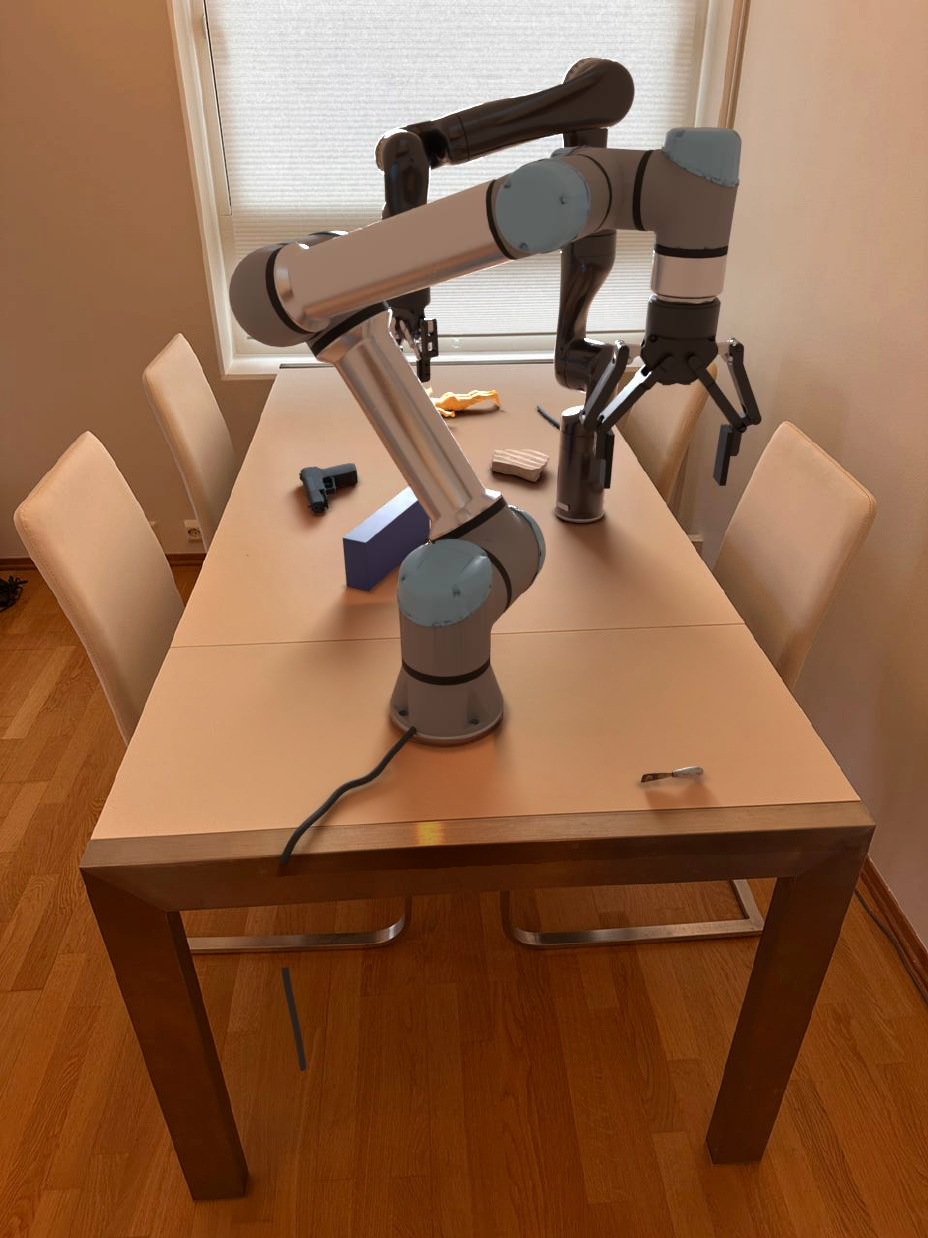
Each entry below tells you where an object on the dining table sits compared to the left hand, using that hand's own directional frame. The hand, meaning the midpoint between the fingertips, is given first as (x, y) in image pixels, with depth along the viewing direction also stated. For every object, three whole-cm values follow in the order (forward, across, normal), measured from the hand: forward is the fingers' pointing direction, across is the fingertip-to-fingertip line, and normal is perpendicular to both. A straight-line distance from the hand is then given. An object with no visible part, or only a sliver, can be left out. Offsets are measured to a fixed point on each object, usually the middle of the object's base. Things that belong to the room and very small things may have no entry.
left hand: (662, 483), depth 105 cm
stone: (+33, +7, -83) cm, 89 cm away
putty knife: (+33, -1, +16) cm, 36 cm away
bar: (+33, +34, -44) cm, 65 cm away
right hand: (+2, +30, -52) cm, 60 cm away
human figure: (+33, +21, -123) cm, 129 cm away
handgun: (+33, +47, -73) cm, 92 cm away
